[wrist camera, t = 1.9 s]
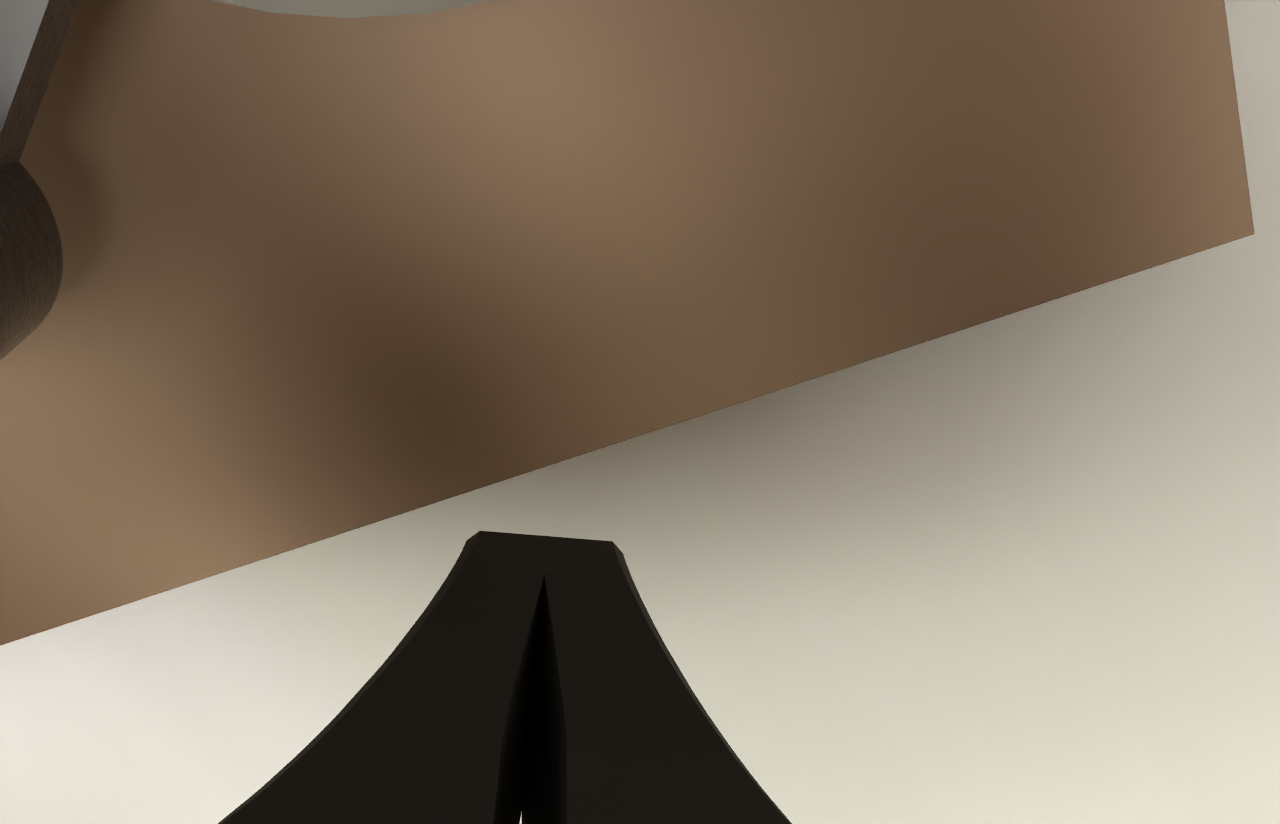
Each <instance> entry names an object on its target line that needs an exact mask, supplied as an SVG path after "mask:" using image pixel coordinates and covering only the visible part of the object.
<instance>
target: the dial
mask: <svg viewBox="0 0 1280 824" xmlns="http://www.w3.org/2000/svg"><path fill="white" fill-rule="evenodd" d="M213 1H217V2H222V3H227V4H232V5H237V6H242V7H246V8H251V9H256V10H261V11H266V12H271V13H284V14H298V15H311V16H325V17H339V18H361V17H377V16H393V15H409V14H425V13H431V12H436V11H441V10H445V9H450V8H455V7H460V6H465V5H470V4H475V3H480V2H485V1H490V0H213ZM78 3H79V0H0V361H1V360H2V359H3V358H4V357H5V356H6V355H7V354H9V353H10V352H11V351H12V350H13V349H14V348H15V347H16V346H18V345H19V344H20V343H21V342H22V341H23V340H24V339H25V338H26V337H28V336H29V335H30V334H31V333H32V332H33V331H34V330H35V329H36V328H37V327H38V326H39V325H40V324H41V323H42V321H43V320H44V319H45V317H46V316H47V315H48V313H49V312H50V310H51V308H52V306H53V304H54V302H55V300H56V297H57V294H58V291H59V288H60V285H61V278H62V271H63V251H62V244H61V237H60V234H59V230H58V226H57V223H56V220H55V217H54V215H53V212H52V210H51V208H50V205H49V203H48V201H47V200H46V198H45V196H44V194H43V192H42V191H41V189H40V187H39V186H38V185H37V183H36V182H35V180H34V179H33V178H32V176H31V175H30V173H29V172H28V171H27V170H26V169H25V168H24V167H23V165H22V164H21V163H20V162H19V161H20V158H21V155H22V153H23V150H24V147H25V145H26V142H27V139H28V137H29V134H30V131H31V129H32V126H33V123H34V121H35V118H36V115H37V113H38V110H39V107H40V105H41V102H42V99H43V96H44V94H45V91H46V88H47V86H48V83H49V80H50V78H51V75H52V72H53V70H54V67H55V64H56V62H57V59H58V56H59V54H60V51H61V48H62V46H63V43H64V40H65V38H66V35H67V32H68V29H69V27H70V24H71V21H72V19H73V16H74V13H75V11H76V8H77V5H78Z"/></svg>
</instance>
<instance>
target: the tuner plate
mask: <svg viewBox="0 0 1280 824" xmlns="http://www.w3.org/2000/svg"><path fill="white" fill-rule="evenodd" d="M19 162H20V163H21V164H22V165H23V167H24V168H25V169H26V170H27V171H28V172H29V173H30V175H31V176H32V178H33V179H34V180H35V182H36V183H37V185H38V186H39V187H40V189H41V191H42V192H43V194H44V196H45V198H46V200H47V201H48V203H49V205H50V208H51V210H52V212H53V215H54V217H55V220H56V223H57V226H58V230H59V234H60V237H61V244H62V251H63V271H62V278H61V285H60V288H59V291H58V294H57V297H56V300H55V302H54V304H53V306H52V308H51V310H50V312H49V313H48V315H47V316H46V317H45V319H44V320H43V321H42V323H41V324H40V325H39V326H38V327H37V328H36V329H35V330H34V331H33V332H32V333H31V334H30V335H29V336H28V337H26V338H25V339H24V340H23V341H22V342H21V343H20V344H19V345H18V346H16V347H15V348H14V349H13V350H12V351H11V352H10V353H9V354H7V355H6V356H5V357H4V358H3V359H2V360H1V361H0V645H3V644H6V643H9V642H12V641H15V640H18V639H21V638H24V637H27V636H30V635H33V634H37V633H40V632H43V631H46V630H49V629H52V628H55V627H58V626H61V625H64V624H67V623H70V622H73V621H76V620H79V619H82V618H85V617H88V616H91V615H94V614H97V613H101V612H104V611H107V610H110V609H113V608H116V607H119V606H122V605H125V604H128V603H131V602H134V601H137V600H140V599H143V598H146V597H149V596H152V595H155V594H158V593H161V592H165V591H168V590H171V589H174V588H177V587H180V586H183V585H186V584H189V583H192V582H195V581H198V580H201V579H204V578H207V577H210V576H213V575H216V574H219V573H222V572H225V571H229V570H232V569H235V568H238V567H241V566H244V565H247V564H250V563H253V562H256V561H259V560H262V559H265V558H268V557H271V556H274V555H277V554H280V553H283V552H286V551H289V550H293V549H296V548H299V547H302V546H305V545H308V544H311V543H314V542H317V541H320V540H323V539H326V538H329V537H332V536H335V535H338V534H341V533H344V532H347V531H350V530H353V529H357V528H360V527H363V526H366V525H369V524H372V523H375V522H378V521H381V520H384V519H387V518H390V517H393V516H396V515H399V514H402V513H405V512H408V511H411V510H414V509H417V508H421V507H424V506H427V505H430V504H433V503H436V502H439V501H442V500H445V499H448V498H451V497H454V496H457V495H460V494H463V493H466V492H469V491H472V490H475V489H478V488H481V487H484V486H488V485H491V484H494V483H497V482H500V481H503V480H506V479H509V478H512V477H515V476H518V475H521V474H524V473H527V472H530V471H533V470H536V469H539V468H542V467H545V466H548V465H552V464H555V463H558V462H561V461H564V460H567V459H570V458H573V457H576V456H579V455H582V454H585V453H588V452H591V451H594V450H597V449H600V448H603V447H606V446H609V445H612V444H616V443H619V442H622V441H625V440H628V439H631V438H634V437H637V436H640V435H643V434H646V433H649V432H652V431H655V430H658V429H661V428H664V427H667V426H670V425H673V424H676V423H680V422H683V421H686V420H689V419H692V418H695V417H698V416H701V415H704V414H707V413H710V412H713V411H716V410H719V409H722V408H725V407H728V406H731V405H734V404H737V403H740V402H744V401H747V400H750V399H753V398H756V397H759V396H762V395H765V394H768V393H771V392H774V391H777V390H780V389H783V388H786V387H789V386H792V385H795V384H798V383H801V382H804V381H808V380H811V379H814V378H817V377H820V376H823V375H826V374H829V373H832V372H835V371H838V370H841V369H844V368H847V367H850V366H853V365H856V364H859V363H862V362H865V361H868V360H871V359H875V358H878V357H881V356H884V355H887V354H890V353H893V352H896V351H899V350H902V349H905V348H908V347H911V346H914V345H917V344H920V343H923V342H926V341H929V340H932V339H935V338H939V337H942V336H945V335H948V334H951V333H954V332H957V331H960V330H963V329H966V328H969V327H972V326H975V325H978V324H981V323H984V322H987V321H990V320H993V319H996V318H999V317H1003V316H1006V315H1009V314H1012V313H1015V312H1018V311H1021V310H1024V309H1027V308H1030V307H1033V306H1036V305H1039V304H1042V303H1045V302H1048V301H1051V300H1054V299H1057V298H1060V297H1063V296H1067V295H1070V294H1073V293H1076V292H1079V291H1082V290H1085V289H1088V288H1091V287H1094V286H1097V285H1100V284H1103V283H1106V282H1109V281H1112V280H1115V279H1118V278H1121V277H1124V276H1127V275H1131V274H1134V273H1137V272H1140V271H1143V270H1146V269H1149V268H1152V267H1155V266H1158V265H1161V264H1164V263H1167V262H1170V261H1173V260H1176V259H1179V258H1182V257H1185V256H1188V255H1191V254H1195V253H1198V252H1201V251H1204V250H1207V249H1210V248H1213V247H1216V246H1219V245H1222V244H1225V243H1228V242H1231V241H1234V240H1237V239H1240V238H1243V237H1246V236H1249V235H1252V234H1254V228H1253V220H1252V212H1251V205H1250V197H1249V189H1248V181H1247V174H1246V166H1245V158H1244V150H1243V143H1242V135H1241V127H1240V119H1239V112H1238V104H1237V96H1236V88H1235V81H1234V73H1233V65H1232V57H1231V50H1230V42H1229V34H1228V26H1227V19H1226V11H1225V3H1224V0H490V1H485V2H480V3H475V4H470V5H465V6H460V7H455V8H450V9H445V10H441V11H436V12H431V13H425V14H409V15H393V16H377V17H361V18H339V17H325V16H311V15H298V14H284V13H271V12H266V11H261V10H256V9H251V8H246V7H242V6H237V5H232V4H227V3H222V2H217V1H213V0H79V3H78V5H77V8H76V11H75V13H74V16H73V19H72V21H71V24H70V27H69V29H68V32H67V35H66V38H65V40H64V43H63V46H62V48H61V51H60V54H59V56H58V59H57V62H56V64H55V67H54V70H53V72H52V75H51V78H50V80H49V83H48V86H47V88H46V91H45V94H44V96H43V99H42V102H41V105H40V107H39V110H38V113H37V115H36V118H35V121H34V123H33V126H32V129H31V131H30V134H29V137H28V139H27V142H26V145H25V147H24V150H23V153H22V155H21V158H20V161H19Z"/></svg>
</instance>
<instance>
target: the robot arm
mask: <svg viewBox="0 0 1280 824" xmlns="http://www.w3.org/2000/svg"><path fill="white" fill-rule="evenodd" d="M521 811H522V824H792V823H791V822H790V821H789V820H788V819H787V818H786V816H785V815H784V814H783V813H782V812H781V810H780V809H779V808H778V807H777V806H776V805H775V803H774V802H773V801H772V800H771V799H770V797H769V796H768V795H767V794H766V793H765V791H764V790H763V789H762V788H761V786H760V785H759V784H758V783H757V781H756V780H755V779H754V778H753V776H752V775H751V774H750V773H749V771H748V770H747V769H746V767H745V766H744V765H743V763H742V762H741V761H740V759H739V758H738V757H737V755H736V754H735V753H734V751H733V750H732V748H731V747H730V746H729V744H728V743H727V741H726V740H725V738H724V737H723V736H722V734H721V733H720V731H719V730H718V728H717V727H716V726H715V724H714V723H713V721H712V720H711V718H710V717H709V716H708V714H707V713H706V711H705V709H704V708H703V706H702V705H701V703H700V702H699V700H698V699H697V697H696V696H695V694H694V693H693V691H692V689H691V688H690V686H689V684H688V683H687V681H686V679H685V678H684V676H683V674H682V673H681V671H680V669H679V668H678V666H677V664H676V662H675V661H674V659H673V657H672V656H671V654H670V652H669V651H668V649H667V647H666V646H665V644H664V642H663V640H662V638H661V636H660V635H659V633H658V631H657V629H656V627H655V625H654V623H653V621H652V619H651V617H650V615H649V613H648V612H647V610H646V608H645V606H644V604H643V602H642V599H641V597H640V595H639V593H638V591H637V589H636V586H635V584H634V582H633V580H632V577H631V575H630V572H629V570H628V567H627V565H626V562H625V559H624V556H623V553H622V552H621V551H620V550H619V549H618V547H617V546H616V545H615V544H614V543H613V542H612V541H599V540H587V539H575V538H562V537H550V536H537V535H525V534H512V533H500V532H488V531H479V532H478V533H476V534H475V535H474V536H472V537H471V538H470V539H468V540H467V541H466V543H465V546H464V548H463V550H462V552H461V554H460V556H459V558H458V560H457V561H456V563H455V565H454V567H453V568H452V570H451V572H450V573H449V575H448V577H447V578H446V580H445V581H444V583H443V584H442V586H441V587H440V589H439V590H438V592H437V593H436V595H435V596H434V598H433V599H432V601H431V602H430V604H429V605H428V606H427V608H426V609H425V611H424V612H423V613H422V615H421V616H420V617H419V619H418V620H417V621H416V622H415V624H414V625H413V626H412V628H411V629H410V630H409V632H408V633H407V634H406V636H405V637H404V638H403V639H402V641H401V642H400V643H399V645H398V646H397V647H396V649H395V650H394V651H393V652H392V654H391V655H390V656H389V657H388V659H387V660H386V661H385V662H384V663H383V665H382V666H381V667H380V668H379V669H378V670H377V671H376V673H375V674H374V675H373V676H372V677H371V678H370V679H369V680H368V681H367V683H366V684H365V685H364V686H363V687H362V688H361V689H360V690H359V692H358V693H357V694H356V695H355V696H354V697H353V698H352V699H351V700H350V702H349V703H348V704H347V705H346V706H345V707H344V708H343V709H342V710H341V712H340V713H339V714H338V715H337V716H336V717H335V718H334V719H333V720H332V721H331V722H330V723H329V724H328V725H327V726H326V727H325V728H324V729H323V730H322V731H321V732H320V733H319V734H318V735H317V736H316V737H315V738H314V739H313V740H312V741H311V742H310V743H309V744H308V745H307V746H306V747H305V748H304V749H303V750H302V751H301V752H300V753H299V754H298V755H297V756H296V757H295V758H294V759H293V760H292V761H290V762H289V763H288V764H287V765H286V766H285V767H284V768H283V769H282V770H281V771H279V772H278V773H277V774H276V775H275V776H274V777H273V778H272V779H271V780H270V781H268V782H267V783H266V784H265V785H264V786H263V787H262V788H261V789H259V790H258V791H257V792H256V793H255V794H254V795H252V796H251V797H250V798H249V799H248V800H246V801H245V802H244V803H243V804H241V805H240V806H239V807H238V808H236V809H235V810H234V811H233V812H232V813H230V814H229V815H228V816H227V817H225V818H224V819H223V820H222V821H221V822H219V823H218V824H519V822H520V817H521Z"/></svg>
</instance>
